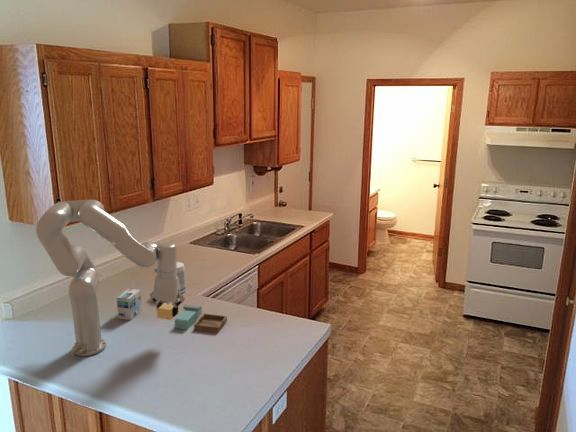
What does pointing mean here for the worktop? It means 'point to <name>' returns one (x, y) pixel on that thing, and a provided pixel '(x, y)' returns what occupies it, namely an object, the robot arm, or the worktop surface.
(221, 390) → the worktop surface
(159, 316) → the stub
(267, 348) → the worktop surface
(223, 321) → the tray
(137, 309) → the light bulb box
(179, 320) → the mint slotted bar
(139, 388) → the worktop surface
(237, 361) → the worktop surface
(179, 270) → the supplement tub
